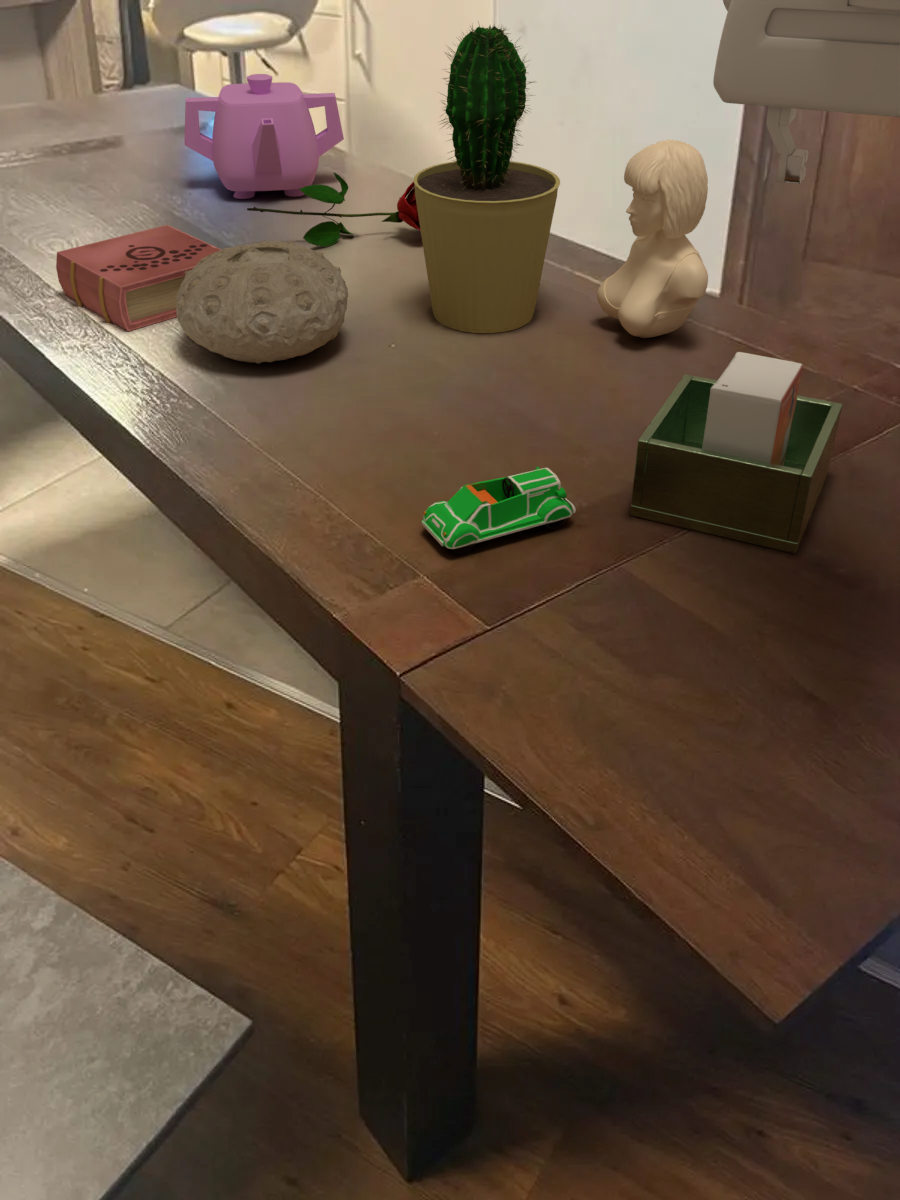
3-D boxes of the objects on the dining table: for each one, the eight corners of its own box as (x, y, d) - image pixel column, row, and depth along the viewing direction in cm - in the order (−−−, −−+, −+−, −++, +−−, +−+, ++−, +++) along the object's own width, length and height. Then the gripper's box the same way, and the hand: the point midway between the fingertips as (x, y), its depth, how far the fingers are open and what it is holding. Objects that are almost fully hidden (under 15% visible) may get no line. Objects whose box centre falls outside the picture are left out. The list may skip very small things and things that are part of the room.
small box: (760, 520, 95) (782, 401, 89) (692, 504, 97) (709, 387, 91) (783, 476, 101) (805, 361, 95) (719, 462, 103) (737, 349, 97)
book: (58, 296, 136) (49, 253, 133) (172, 265, 145) (167, 224, 142) (121, 333, 128) (113, 288, 125) (239, 298, 136) (234, 255, 133)
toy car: (545, 496, 100) (548, 451, 97) (578, 525, 96) (582, 478, 94) (418, 530, 96) (417, 484, 93) (447, 562, 92) (447, 514, 89)
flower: (249, 160, 141) (489, 165, 149) (241, 178, 150) (468, 182, 158) (254, 239, 142) (492, 239, 150) (246, 252, 151) (470, 251, 159)
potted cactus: (513, 352, 124) (525, 41, 107) (388, 323, 130) (380, 24, 113) (575, 304, 135) (595, 15, 117) (457, 279, 141) (460, 1, 124)
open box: (827, 476, 103) (843, 403, 99) (795, 554, 93) (811, 476, 89) (675, 444, 108) (684, 373, 104) (629, 515, 98) (637, 440, 93)
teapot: (275, 215, 160) (266, 97, 152) (176, 193, 168) (161, 79, 160) (359, 181, 174) (355, 71, 165) (263, 162, 182) (254, 56, 173)
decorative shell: (146, 358, 122) (131, 263, 117) (246, 301, 135) (237, 213, 129) (291, 393, 116) (283, 295, 110) (381, 329, 129) (379, 238, 123)
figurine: (582, 314, 133) (596, 127, 121) (657, 304, 135) (677, 121, 123) (635, 362, 122) (656, 163, 111) (715, 350, 125) (743, 154, 113)
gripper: (714, -64, 67) (690, 184, 75) (1110, -51, 60) (1037, 222, 68) (741, -74, 72) (715, 160, 80) (1111, -64, 65) (1043, 193, 73)
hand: (866, 189), depth 74 cm, fingers open, 8 cm apart
